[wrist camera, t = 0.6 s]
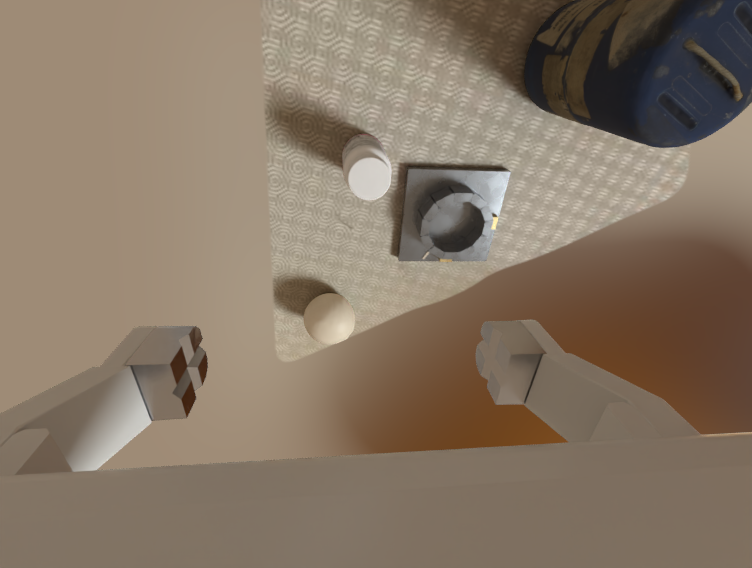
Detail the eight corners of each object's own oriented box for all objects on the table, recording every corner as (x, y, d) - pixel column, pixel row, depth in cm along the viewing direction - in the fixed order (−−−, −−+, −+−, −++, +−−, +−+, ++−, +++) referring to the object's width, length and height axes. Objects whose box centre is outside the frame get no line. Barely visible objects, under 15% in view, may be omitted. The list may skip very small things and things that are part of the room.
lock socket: (407, 166, 39) (412, 175, 36) (507, 169, 41) (520, 178, 38) (397, 257, 46) (401, 271, 43) (483, 257, 47) (493, 271, 44)
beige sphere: (322, 329, 52) (320, 362, 47) (297, 295, 48) (292, 327, 43) (362, 313, 51) (365, 345, 46) (340, 277, 47) (340, 307, 42)
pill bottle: (382, 178, 40) (391, 206, 33) (341, 175, 39) (341, 203, 32) (387, 135, 37) (398, 155, 30) (343, 130, 37) (344, 150, 30)
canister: (586, -31, 31) (813, -99, 16) (629, 56, 35) (840, 65, 20) (499, 63, 34) (620, 77, 20) (548, 131, 39) (677, 185, 24)
